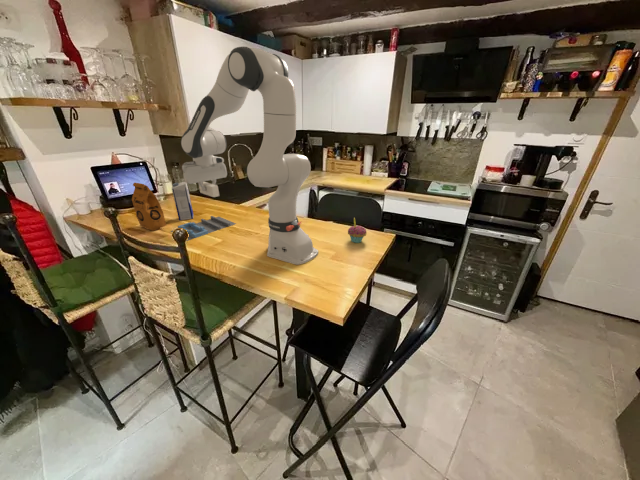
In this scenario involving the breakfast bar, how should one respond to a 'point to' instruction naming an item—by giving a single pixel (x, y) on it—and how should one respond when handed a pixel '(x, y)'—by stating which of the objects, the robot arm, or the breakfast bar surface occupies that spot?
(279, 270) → the breakfast bar surface
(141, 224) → the coffee package
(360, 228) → the cupcake
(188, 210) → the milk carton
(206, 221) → the duct board
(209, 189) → the light grey block
